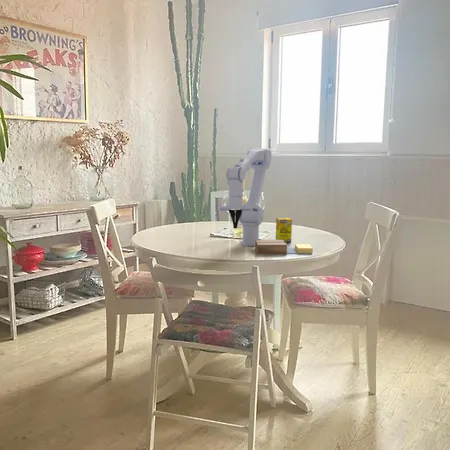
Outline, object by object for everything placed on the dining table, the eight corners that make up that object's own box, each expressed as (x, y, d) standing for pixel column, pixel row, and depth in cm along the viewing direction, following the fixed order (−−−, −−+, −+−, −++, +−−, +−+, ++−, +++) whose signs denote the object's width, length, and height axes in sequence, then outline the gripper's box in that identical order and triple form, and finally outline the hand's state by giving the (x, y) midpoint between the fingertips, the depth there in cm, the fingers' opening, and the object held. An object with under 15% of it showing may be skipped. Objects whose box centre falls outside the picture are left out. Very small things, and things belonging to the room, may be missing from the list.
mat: (283, 248, 211) (283, 247, 211) (305, 248, 212) (305, 247, 212) (287, 253, 200) (287, 253, 200) (311, 253, 201) (311, 253, 201)
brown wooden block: (254, 248, 210) (255, 239, 209) (282, 248, 210) (282, 239, 210) (257, 254, 199) (258, 244, 198) (286, 254, 199) (287, 244, 199)
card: (308, 244, 209) (308, 248, 209) (294, 244, 208) (294, 248, 209) (312, 248, 201) (312, 252, 201) (298, 248, 201) (298, 252, 201)
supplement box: (279, 243, 222) (279, 219, 220) (275, 240, 228) (275, 217, 226) (291, 242, 223) (292, 219, 221) (287, 240, 229) (288, 217, 227)
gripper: (218, 196, 197) (218, 229, 199) (253, 196, 197) (253, 229, 200) (217, 194, 204) (217, 226, 206) (252, 195, 204) (251, 226, 206)
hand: (235, 228), depth 203 cm, fingers closed
